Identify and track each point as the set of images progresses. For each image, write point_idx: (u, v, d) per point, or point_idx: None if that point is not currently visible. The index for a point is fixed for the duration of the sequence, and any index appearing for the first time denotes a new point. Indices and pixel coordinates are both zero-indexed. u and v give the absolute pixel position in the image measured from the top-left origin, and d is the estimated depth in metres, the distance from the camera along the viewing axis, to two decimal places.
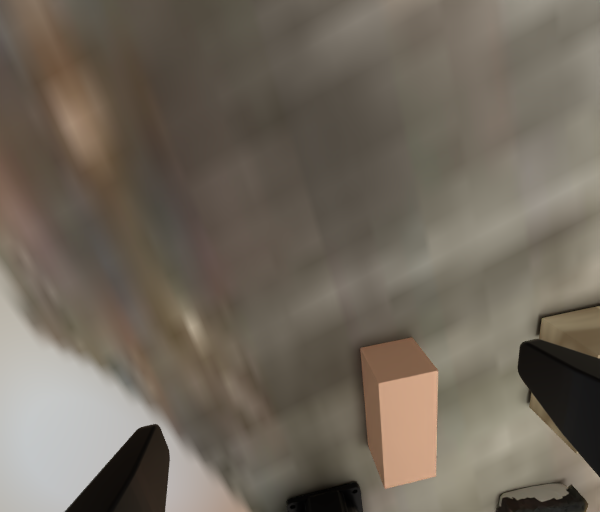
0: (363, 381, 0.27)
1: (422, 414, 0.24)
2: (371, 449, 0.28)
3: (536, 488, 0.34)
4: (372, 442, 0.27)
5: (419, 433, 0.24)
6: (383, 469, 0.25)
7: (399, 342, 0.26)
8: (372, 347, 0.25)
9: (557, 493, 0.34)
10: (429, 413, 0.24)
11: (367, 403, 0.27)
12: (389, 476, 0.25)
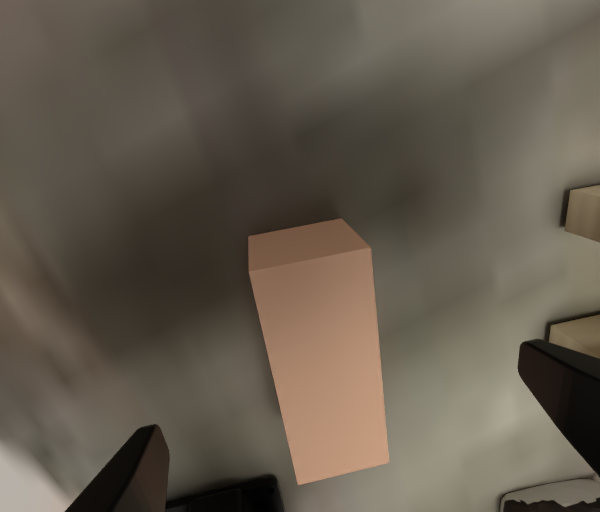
0: None
1: (350, 342, 0.12)
2: None
3: (555, 486, 0.23)
4: None
5: (348, 382, 0.13)
6: (290, 450, 0.14)
7: (317, 225, 0.14)
8: (268, 234, 0.14)
9: (587, 494, 0.23)
10: (363, 341, 0.12)
11: None
12: (302, 462, 0.14)
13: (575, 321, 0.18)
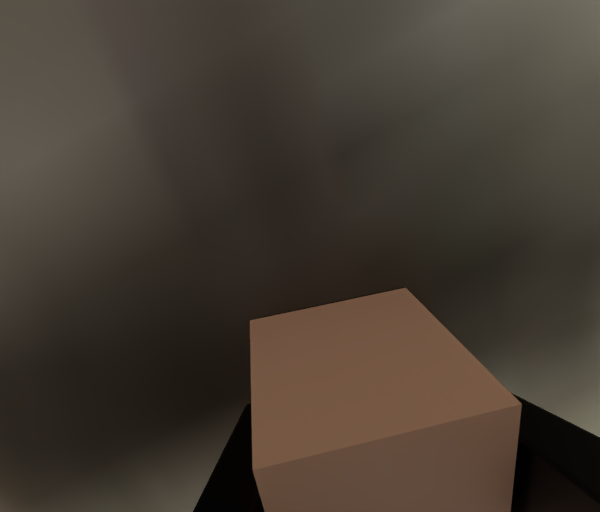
0: None
1: None
2: None
3: None
4: None
5: None
6: None
7: (370, 306, 0.08)
8: (286, 323, 0.08)
9: None
10: None
11: None
12: None
13: None
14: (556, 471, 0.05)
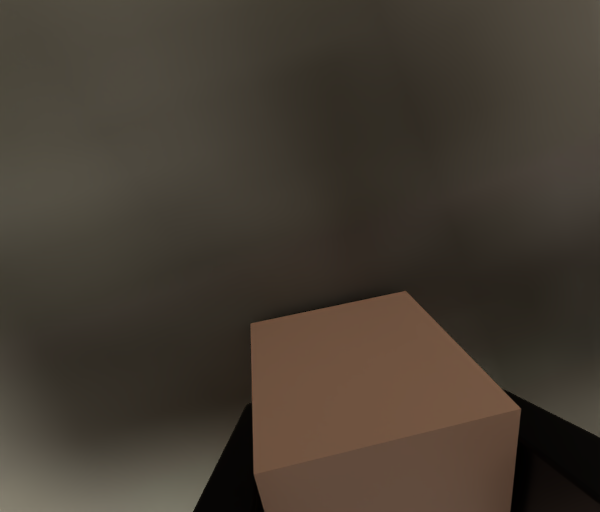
0: None
1: None
2: None
3: None
4: None
5: None
6: None
7: (370, 309, 0.08)
8: (286, 326, 0.08)
9: None
10: None
11: None
12: None
13: None
14: (556, 471, 0.05)
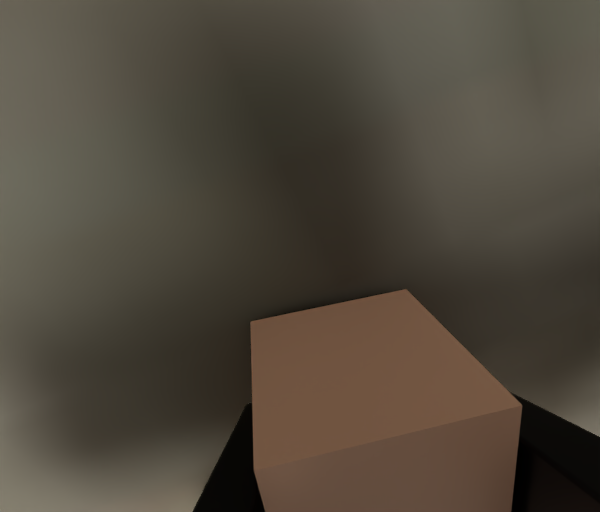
0: None
1: None
2: None
3: None
4: None
5: None
6: None
7: (371, 307, 0.08)
8: (286, 324, 0.08)
9: None
10: None
11: None
12: None
13: None
14: (556, 471, 0.05)
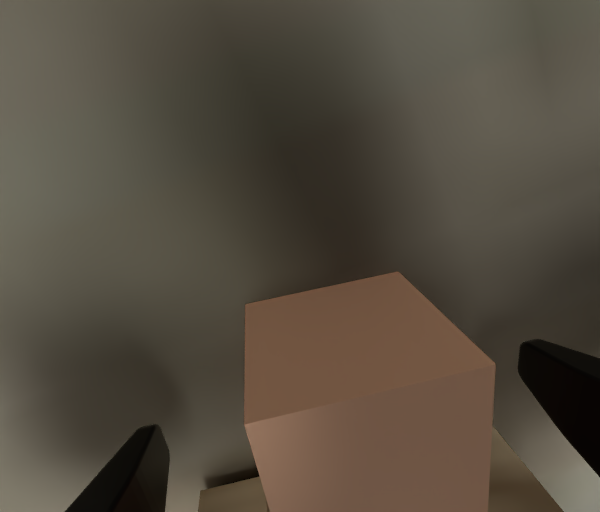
0: None
1: None
2: None
3: None
4: None
5: None
6: None
7: (360, 285, 0.09)
8: (279, 301, 0.08)
9: None
10: None
11: None
12: None
13: None
14: None
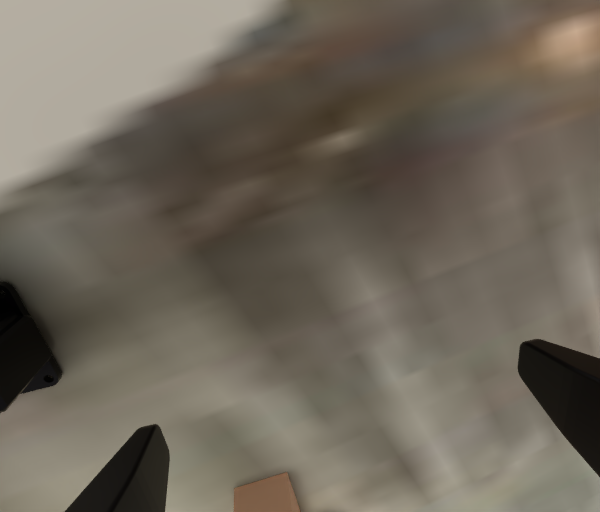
0: None
1: None
2: None
3: None
4: None
5: None
6: None
7: (272, 480, 0.25)
8: (245, 487, 0.25)
9: None
10: None
11: None
12: None
13: None
14: None
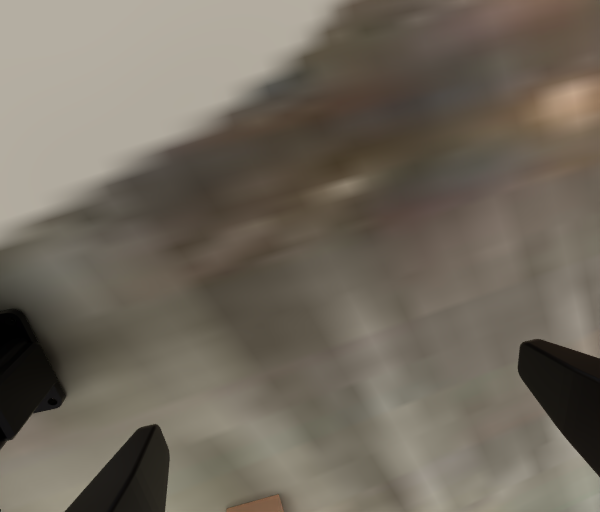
0: None
1: None
2: None
3: None
4: None
5: None
6: None
7: (264, 502, 0.26)
8: (237, 508, 0.26)
9: None
10: None
11: None
12: None
13: None
14: None
